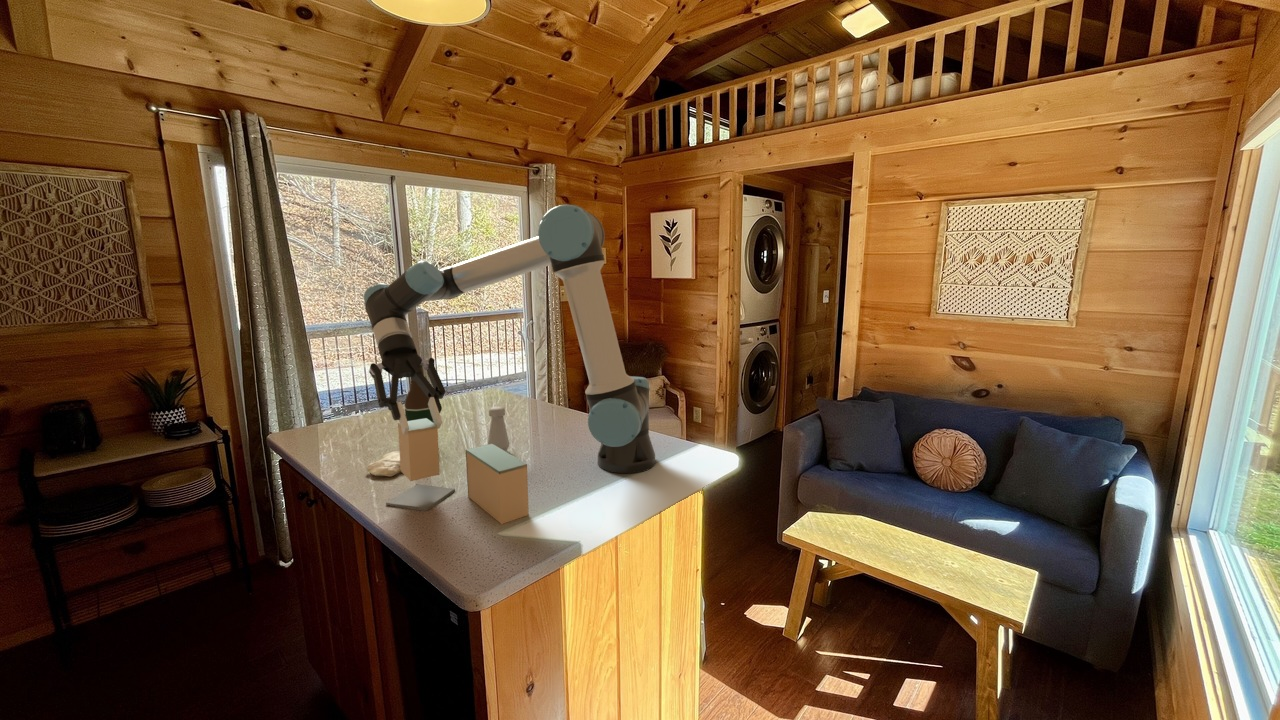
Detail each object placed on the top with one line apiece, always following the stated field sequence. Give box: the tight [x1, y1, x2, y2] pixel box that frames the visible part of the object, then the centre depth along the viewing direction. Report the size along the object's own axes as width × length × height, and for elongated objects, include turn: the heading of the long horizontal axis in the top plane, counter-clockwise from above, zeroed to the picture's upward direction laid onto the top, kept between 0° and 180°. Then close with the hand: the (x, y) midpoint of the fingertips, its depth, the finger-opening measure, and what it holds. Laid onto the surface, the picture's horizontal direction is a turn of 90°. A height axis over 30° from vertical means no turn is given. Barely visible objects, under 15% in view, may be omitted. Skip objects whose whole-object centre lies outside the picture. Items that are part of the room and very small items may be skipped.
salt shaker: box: [487, 405, 510, 453], centre depth 140 cm, size 6×6×13 cm
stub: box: [397, 418, 440, 482], centre depth 111 cm, size 7×6×11 cm
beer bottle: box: [404, 365, 434, 423], centre depth 147 cm, size 8×8×24 cm
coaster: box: [385, 483, 456, 512], centre depth 113 cm, size 10×10×1 cm
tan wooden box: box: [465, 443, 530, 525], centre depth 109 cm, size 16×6×11 cm, turn 41°
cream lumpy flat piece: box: [365, 446, 440, 478], centre depth 132 cm, size 4×13×20 cm
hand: (423, 428), depth 108 cm, fingers closed on stub, 6 cm apart
